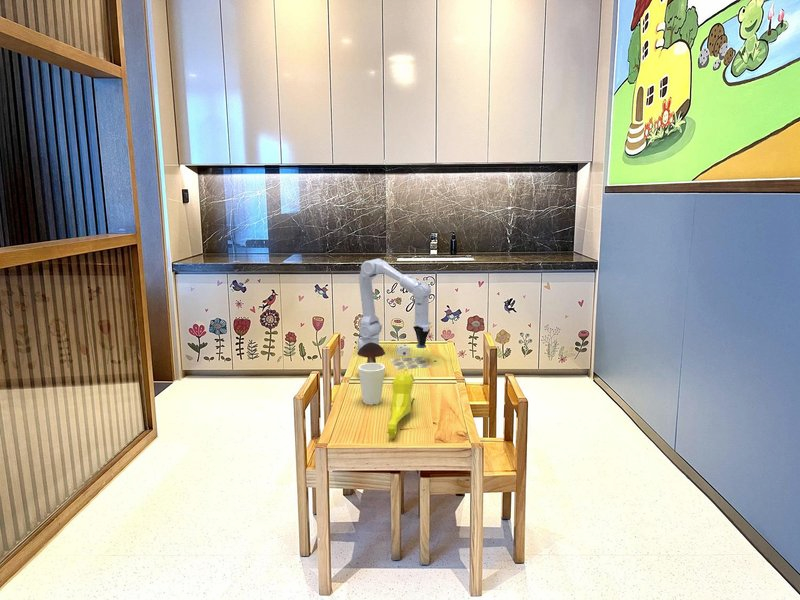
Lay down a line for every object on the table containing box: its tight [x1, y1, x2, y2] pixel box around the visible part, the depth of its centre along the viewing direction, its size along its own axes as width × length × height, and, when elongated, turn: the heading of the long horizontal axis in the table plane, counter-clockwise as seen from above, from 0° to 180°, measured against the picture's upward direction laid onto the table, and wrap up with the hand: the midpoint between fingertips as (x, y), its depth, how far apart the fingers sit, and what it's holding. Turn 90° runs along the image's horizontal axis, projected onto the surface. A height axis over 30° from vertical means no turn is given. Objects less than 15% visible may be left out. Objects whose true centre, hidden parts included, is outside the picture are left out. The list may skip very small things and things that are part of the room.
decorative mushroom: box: [356, 342, 386, 363], centre depth 225 cm, size 11×11×15 cm
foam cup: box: [358, 362, 386, 406], centre depth 202 cm, size 10×9×13 cm
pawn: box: [416, 336, 427, 349], centre depth 242 cm, size 4×4×7 cm
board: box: [389, 356, 432, 370], centre depth 243 cm, size 15×15×1 cm
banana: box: [386, 367, 416, 439], centre depth 188 cm, size 7×20×35 cm
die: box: [395, 344, 411, 357], centre depth 255 cm, size 5×5×5 cm
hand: (421, 343), depth 242 cm, fingers closed on pawn, 3 cm apart
